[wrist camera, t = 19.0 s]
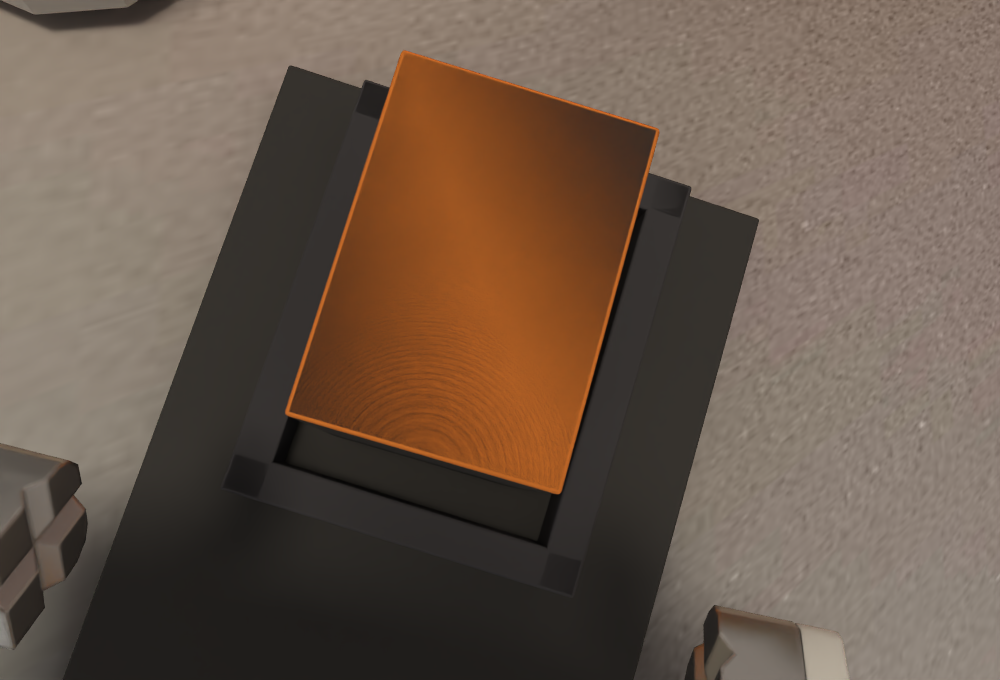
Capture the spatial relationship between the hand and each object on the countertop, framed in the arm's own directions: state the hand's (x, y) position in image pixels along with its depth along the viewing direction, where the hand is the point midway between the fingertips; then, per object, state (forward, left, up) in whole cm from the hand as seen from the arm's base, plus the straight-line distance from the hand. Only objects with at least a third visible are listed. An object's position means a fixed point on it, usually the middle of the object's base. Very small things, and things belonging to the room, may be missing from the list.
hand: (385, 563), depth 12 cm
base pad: (+2, 0, -15) cm, 15 cm away
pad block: (+5, 0, -13) cm, 14 cm away
